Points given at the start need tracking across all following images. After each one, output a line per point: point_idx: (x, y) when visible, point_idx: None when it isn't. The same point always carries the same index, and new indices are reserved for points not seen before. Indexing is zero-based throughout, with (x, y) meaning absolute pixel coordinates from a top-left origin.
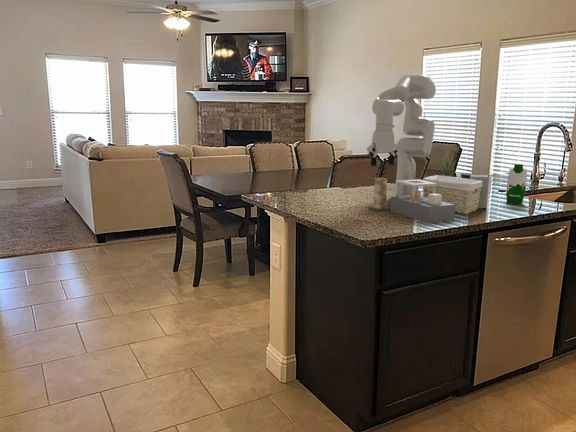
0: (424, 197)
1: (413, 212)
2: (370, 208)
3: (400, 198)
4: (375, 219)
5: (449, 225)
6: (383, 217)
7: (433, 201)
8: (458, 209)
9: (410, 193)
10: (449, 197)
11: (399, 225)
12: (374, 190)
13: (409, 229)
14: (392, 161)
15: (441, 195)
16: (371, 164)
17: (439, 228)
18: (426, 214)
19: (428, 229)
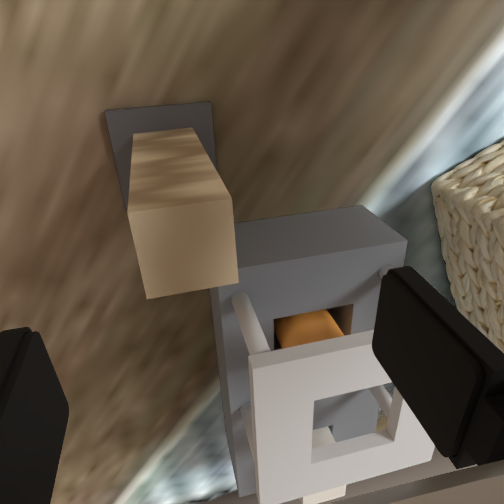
0: None
1: (223, 393)
2: (109, 132)
3: (232, 338)
4: None
5: None
6: (91, 344)
7: None
8: None
9: (312, 341)
10: (494, 327)
11: (97, 457)
12: (131, 168)
13: (106, 497)
14: (400, 388)
15: (340, 493)
16: (3, 348)
17: (218, 483)
18: (231, 455)
19: (174, 494)
